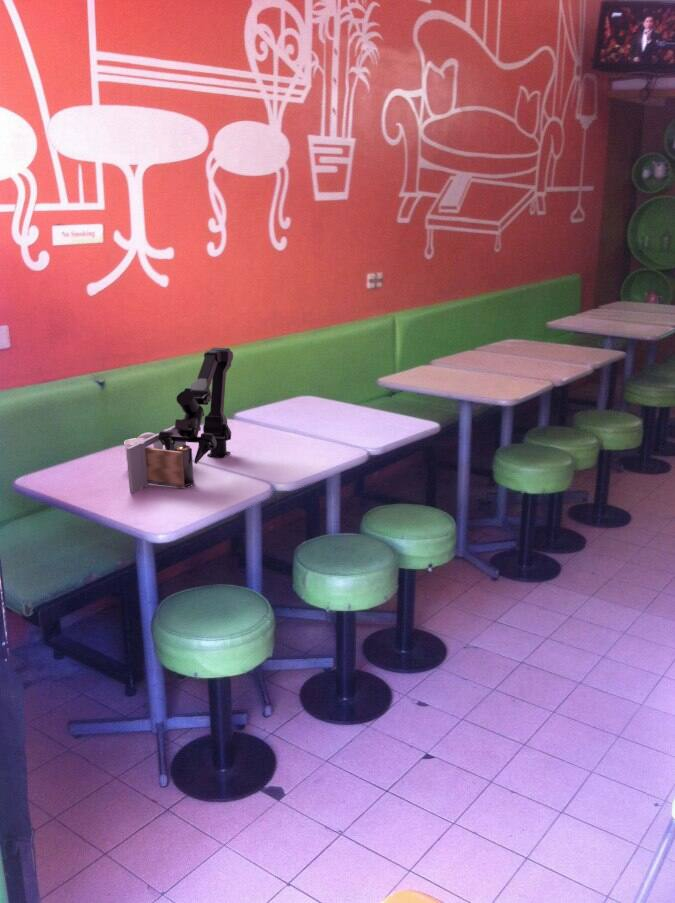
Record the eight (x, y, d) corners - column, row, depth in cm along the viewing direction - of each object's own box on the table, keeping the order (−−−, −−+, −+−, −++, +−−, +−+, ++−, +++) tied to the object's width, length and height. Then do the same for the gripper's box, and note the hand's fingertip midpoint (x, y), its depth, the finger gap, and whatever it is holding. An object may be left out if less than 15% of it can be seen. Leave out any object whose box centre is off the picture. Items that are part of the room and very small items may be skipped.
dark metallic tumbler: (184, 480, 287) (182, 443, 283) (198, 483, 283) (196, 446, 280) (172, 485, 282) (169, 447, 278) (185, 488, 279) (183, 450, 275)
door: (145, 483, 282) (142, 448, 278) (147, 482, 283) (145, 447, 280) (182, 488, 277) (180, 452, 274) (184, 487, 278) (182, 451, 275)
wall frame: (182, 462, 306) (180, 421, 301) (188, 462, 305) (186, 422, 300) (128, 492, 275) (124, 448, 271) (134, 493, 274) (131, 448, 270)
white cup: (152, 469, 297) (150, 442, 295) (131, 473, 293) (128, 445, 290) (144, 463, 304) (142, 436, 301) (122, 467, 299) (120, 440, 297)
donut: (135, 460, 307) (133, 434, 304) (136, 458, 310) (134, 431, 307) (163, 460, 308) (161, 433, 305) (164, 457, 311) (162, 430, 308)
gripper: (158, 407, 281) (146, 449, 273) (212, 409, 277) (202, 452, 270) (168, 424, 290) (158, 465, 283) (221, 427, 287) (211, 468, 280)
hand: (181, 462), depth 279 cm, fingers open, 9 cm apart
